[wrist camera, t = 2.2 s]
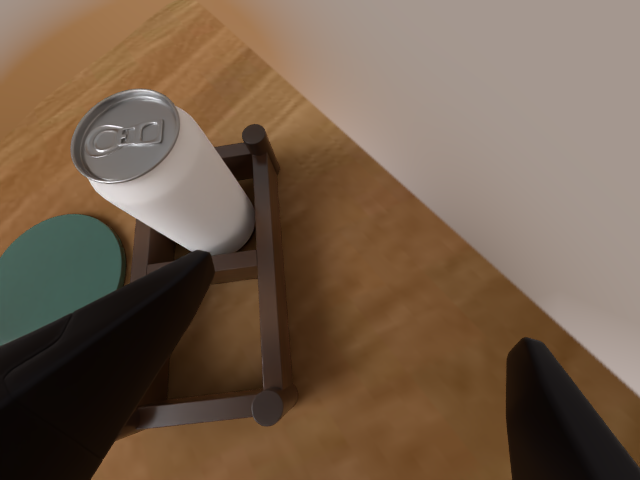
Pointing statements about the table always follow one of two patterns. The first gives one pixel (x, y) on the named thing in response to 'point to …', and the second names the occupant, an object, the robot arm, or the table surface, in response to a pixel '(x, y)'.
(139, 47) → the table surface
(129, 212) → the can
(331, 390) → the table surface
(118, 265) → the coaster
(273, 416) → the rack
